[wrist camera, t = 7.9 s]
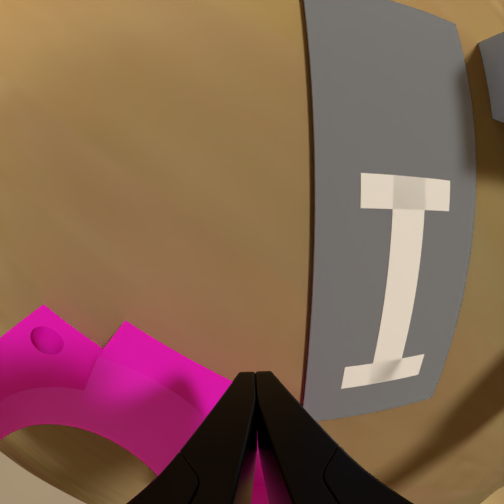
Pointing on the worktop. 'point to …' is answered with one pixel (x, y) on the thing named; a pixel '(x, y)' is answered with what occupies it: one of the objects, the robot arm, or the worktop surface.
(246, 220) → the worktop surface
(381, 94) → the letter mat
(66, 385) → the toy block
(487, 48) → the slate blue cube
